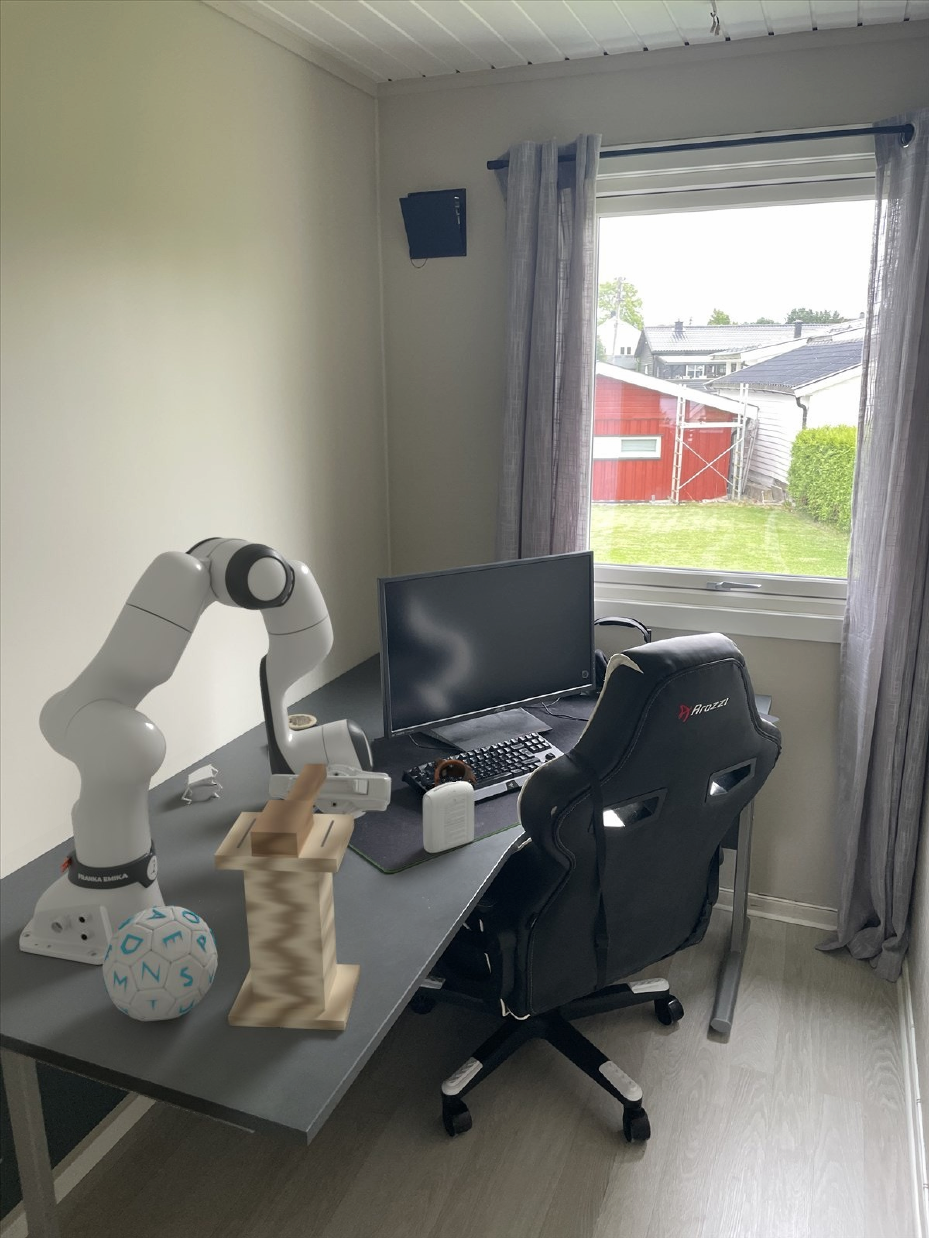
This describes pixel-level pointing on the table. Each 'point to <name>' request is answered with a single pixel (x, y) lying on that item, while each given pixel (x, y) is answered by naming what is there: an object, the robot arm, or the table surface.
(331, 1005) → the pine stand
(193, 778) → the light grey legged piece
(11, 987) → the table surface
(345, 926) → the table surface
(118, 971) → the puzzle ball
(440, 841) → the photo printer
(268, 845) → the wooden mallet
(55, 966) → the table surface
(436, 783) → the pottery mug
